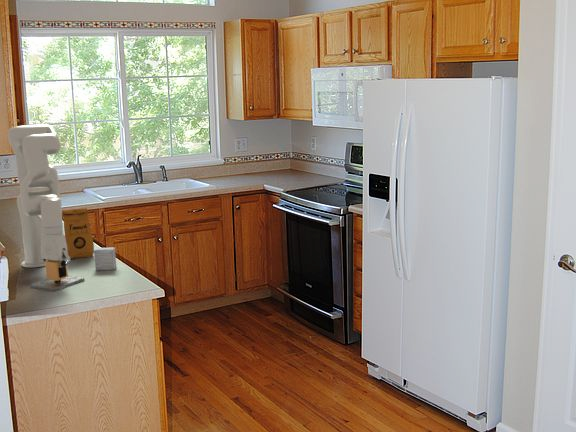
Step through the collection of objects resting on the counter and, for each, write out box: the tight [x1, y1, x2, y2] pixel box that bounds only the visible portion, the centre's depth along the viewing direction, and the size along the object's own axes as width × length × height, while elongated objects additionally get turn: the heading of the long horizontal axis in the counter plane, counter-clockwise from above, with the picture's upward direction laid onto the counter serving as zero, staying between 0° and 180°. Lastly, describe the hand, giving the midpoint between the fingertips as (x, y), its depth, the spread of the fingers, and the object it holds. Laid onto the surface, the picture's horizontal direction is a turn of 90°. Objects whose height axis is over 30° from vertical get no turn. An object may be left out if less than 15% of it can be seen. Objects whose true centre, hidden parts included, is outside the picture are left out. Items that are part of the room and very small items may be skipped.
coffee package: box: [61, 207, 95, 259], centre depth 310 cm, size 10×12×22 cm
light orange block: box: [44, 260, 69, 281], centre depth 270 cm, size 6×6×7 cm
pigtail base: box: [29, 274, 85, 292], centre depth 271 cm, size 12×16×6 cm
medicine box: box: [93, 246, 117, 271], centre depth 291 cm, size 8×4×9 cm, turn 92°
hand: (57, 275), depth 271 cm, fingers closed on light orange block, 5 cm apart
